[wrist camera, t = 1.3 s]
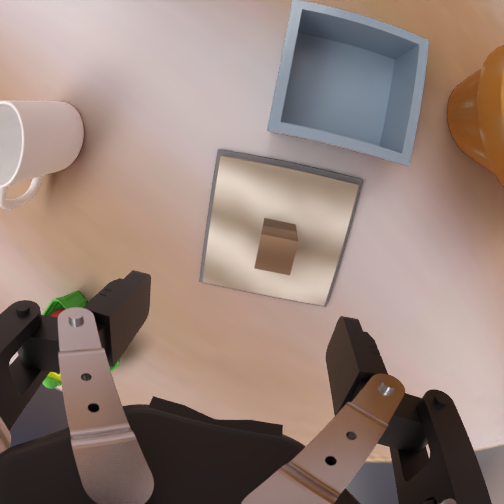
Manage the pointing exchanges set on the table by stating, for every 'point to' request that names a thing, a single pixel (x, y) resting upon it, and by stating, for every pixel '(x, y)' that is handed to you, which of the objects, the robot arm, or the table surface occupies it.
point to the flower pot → (481, 114)
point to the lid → (277, 230)
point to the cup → (36, 143)
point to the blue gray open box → (349, 82)
